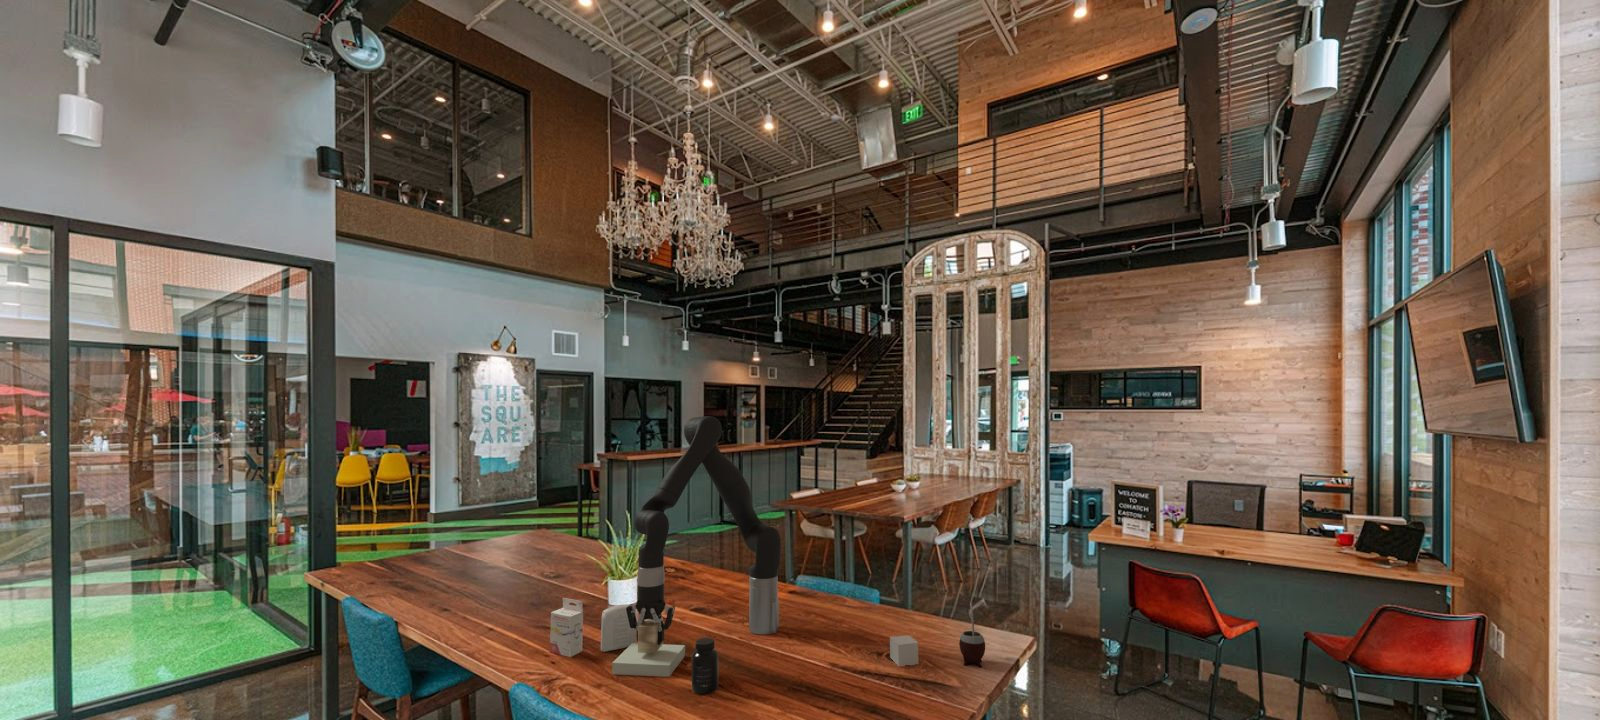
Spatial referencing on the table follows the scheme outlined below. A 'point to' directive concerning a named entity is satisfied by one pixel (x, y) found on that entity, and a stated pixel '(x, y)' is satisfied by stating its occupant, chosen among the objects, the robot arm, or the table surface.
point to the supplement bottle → (705, 667)
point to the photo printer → (616, 629)
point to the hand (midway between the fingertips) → (650, 643)
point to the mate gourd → (972, 645)
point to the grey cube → (904, 650)
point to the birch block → (648, 637)
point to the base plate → (649, 661)
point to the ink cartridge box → (567, 629)
